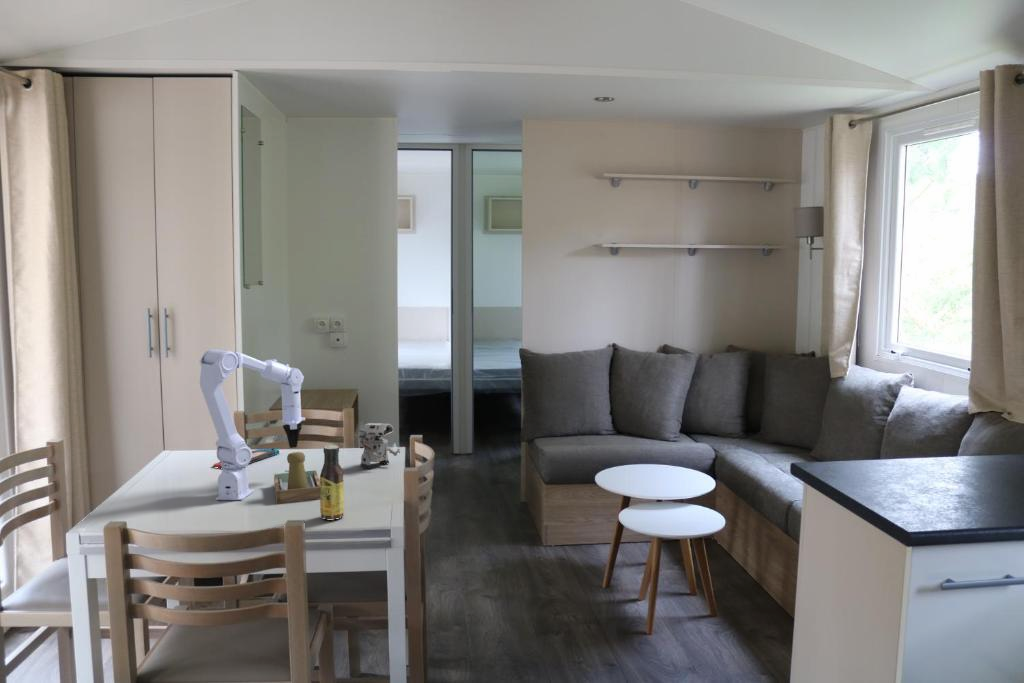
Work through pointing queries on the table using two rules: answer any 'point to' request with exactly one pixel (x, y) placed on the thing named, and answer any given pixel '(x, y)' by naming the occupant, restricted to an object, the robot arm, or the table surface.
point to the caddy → (297, 492)
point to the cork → (296, 471)
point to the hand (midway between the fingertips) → (293, 447)
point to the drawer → (284, 478)
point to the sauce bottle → (331, 485)
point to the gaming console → (257, 455)
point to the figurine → (376, 444)
